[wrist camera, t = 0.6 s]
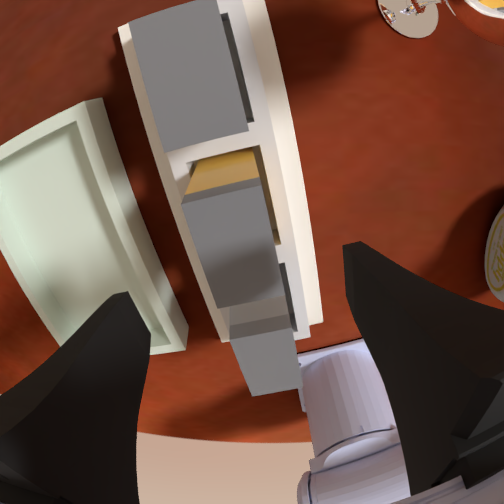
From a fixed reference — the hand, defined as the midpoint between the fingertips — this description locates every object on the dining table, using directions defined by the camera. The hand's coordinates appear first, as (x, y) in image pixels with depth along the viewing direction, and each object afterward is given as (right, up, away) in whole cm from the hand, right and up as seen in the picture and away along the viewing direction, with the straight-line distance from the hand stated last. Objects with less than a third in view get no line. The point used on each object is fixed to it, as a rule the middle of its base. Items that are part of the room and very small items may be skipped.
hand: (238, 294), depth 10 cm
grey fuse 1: (-2, +11, +5) cm, 12 cm away
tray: (-12, +2, +10) cm, 15 cm away
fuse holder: (-1, +5, +9) cm, 10 cm away
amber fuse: (-1, +5, +8) cm, 10 cm away
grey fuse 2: (+1, -1, +12) cm, 12 cm away
